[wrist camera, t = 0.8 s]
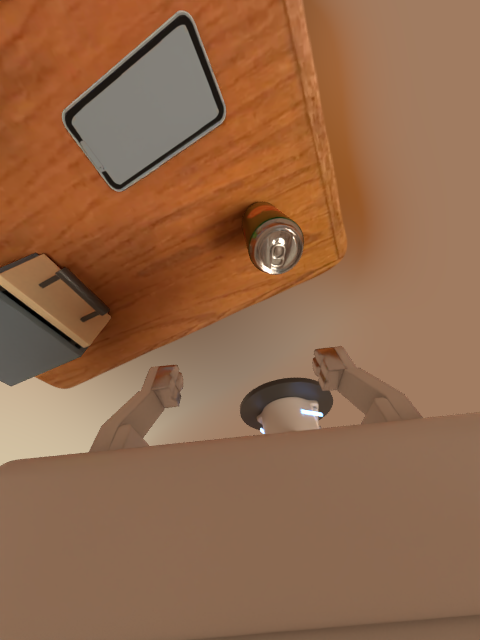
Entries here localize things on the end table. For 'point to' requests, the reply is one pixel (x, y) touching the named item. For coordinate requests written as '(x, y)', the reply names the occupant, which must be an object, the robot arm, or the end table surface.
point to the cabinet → (29, 341)
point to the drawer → (56, 299)
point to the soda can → (271, 238)
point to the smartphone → (148, 105)
